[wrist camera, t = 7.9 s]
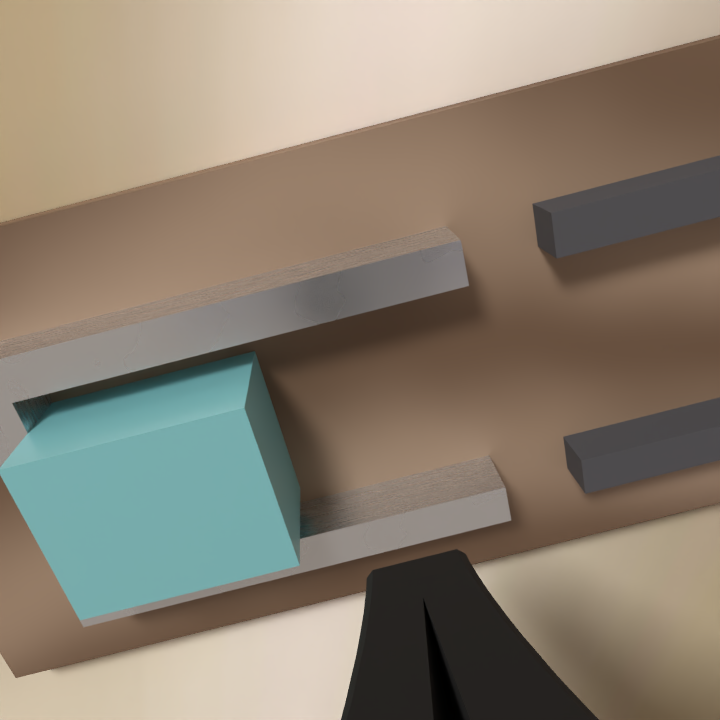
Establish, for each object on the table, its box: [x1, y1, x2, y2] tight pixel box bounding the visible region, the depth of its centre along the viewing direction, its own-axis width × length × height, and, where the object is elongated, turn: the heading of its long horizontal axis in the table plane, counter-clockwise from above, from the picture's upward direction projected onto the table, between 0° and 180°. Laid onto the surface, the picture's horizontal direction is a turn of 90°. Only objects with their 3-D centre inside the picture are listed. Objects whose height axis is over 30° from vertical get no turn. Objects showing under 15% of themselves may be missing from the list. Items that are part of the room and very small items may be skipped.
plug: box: [0, 351, 300, 620], centre depth 15 cm, size 4×5×3 cm
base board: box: [0, 35, 720, 678], centre depth 16 cm, size 12×29×1 cm, turn 104°
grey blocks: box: [532, 155, 720, 494], centre depth 15 cm, size 7×7×1 cm
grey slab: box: [0, 226, 511, 627], centre depth 15 cm, size 7×11×2 cm, turn 104°
